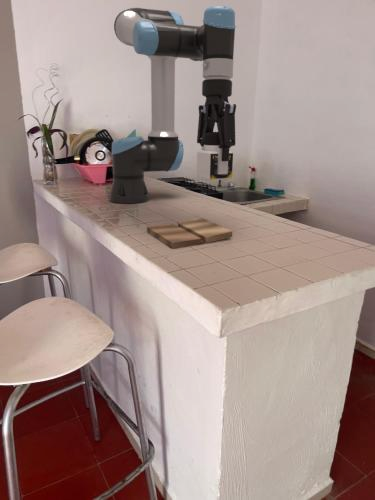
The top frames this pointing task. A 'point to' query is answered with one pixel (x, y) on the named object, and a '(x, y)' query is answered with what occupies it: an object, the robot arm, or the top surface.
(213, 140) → the medicine bottle
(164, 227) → the laid board
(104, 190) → the top surface
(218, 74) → the robot arm
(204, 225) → the plank
